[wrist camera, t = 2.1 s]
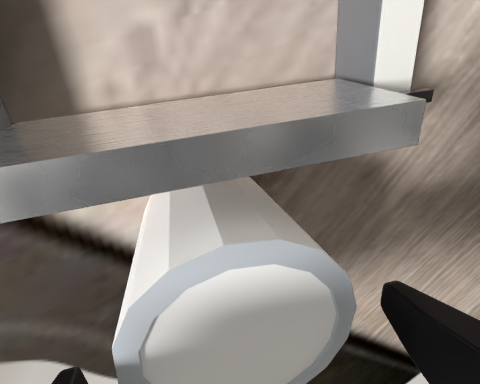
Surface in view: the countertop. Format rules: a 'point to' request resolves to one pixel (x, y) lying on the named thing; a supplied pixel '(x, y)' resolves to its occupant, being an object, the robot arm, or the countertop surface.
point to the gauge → (366, 44)
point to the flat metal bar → (197, 142)
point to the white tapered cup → (228, 293)
